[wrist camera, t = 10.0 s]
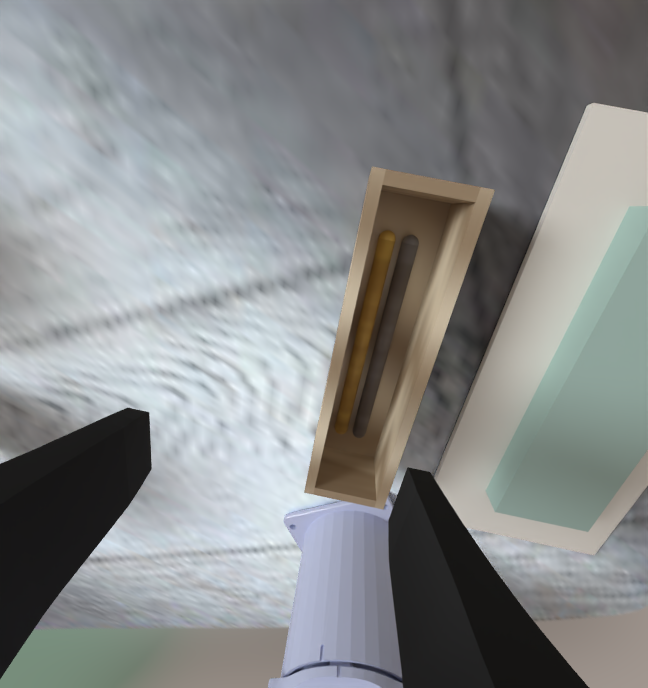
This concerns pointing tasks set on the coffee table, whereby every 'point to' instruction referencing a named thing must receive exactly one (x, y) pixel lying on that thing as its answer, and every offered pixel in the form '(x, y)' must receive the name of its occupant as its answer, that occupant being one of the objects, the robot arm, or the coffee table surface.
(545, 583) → the coffee table surface
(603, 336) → the lid
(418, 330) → the pencil box
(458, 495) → the mat
